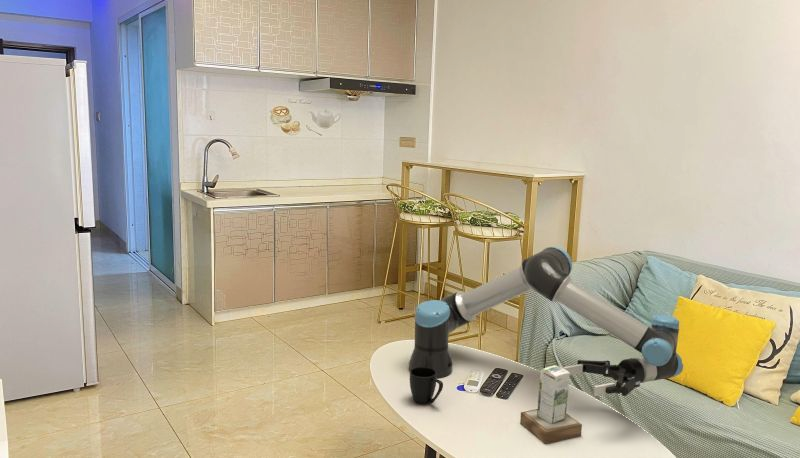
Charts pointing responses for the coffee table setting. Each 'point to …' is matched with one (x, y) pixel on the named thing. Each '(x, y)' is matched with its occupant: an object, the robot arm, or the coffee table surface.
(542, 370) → the syrup box
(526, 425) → the walnut stand
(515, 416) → the coffee table surface
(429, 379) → the mug
